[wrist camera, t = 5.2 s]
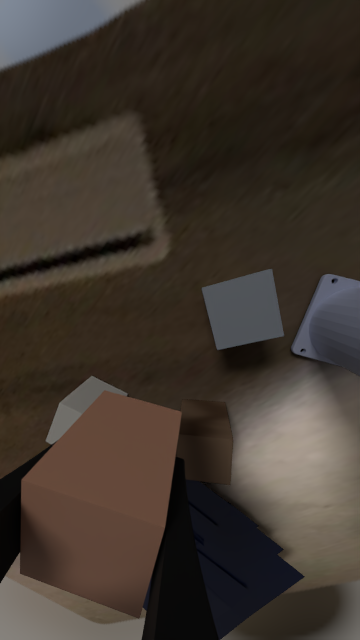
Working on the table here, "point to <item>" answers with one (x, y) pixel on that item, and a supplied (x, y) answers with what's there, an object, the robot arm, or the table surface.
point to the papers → (234, 560)
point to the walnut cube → (205, 441)
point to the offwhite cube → (77, 406)
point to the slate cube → (243, 310)
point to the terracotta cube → (101, 502)
